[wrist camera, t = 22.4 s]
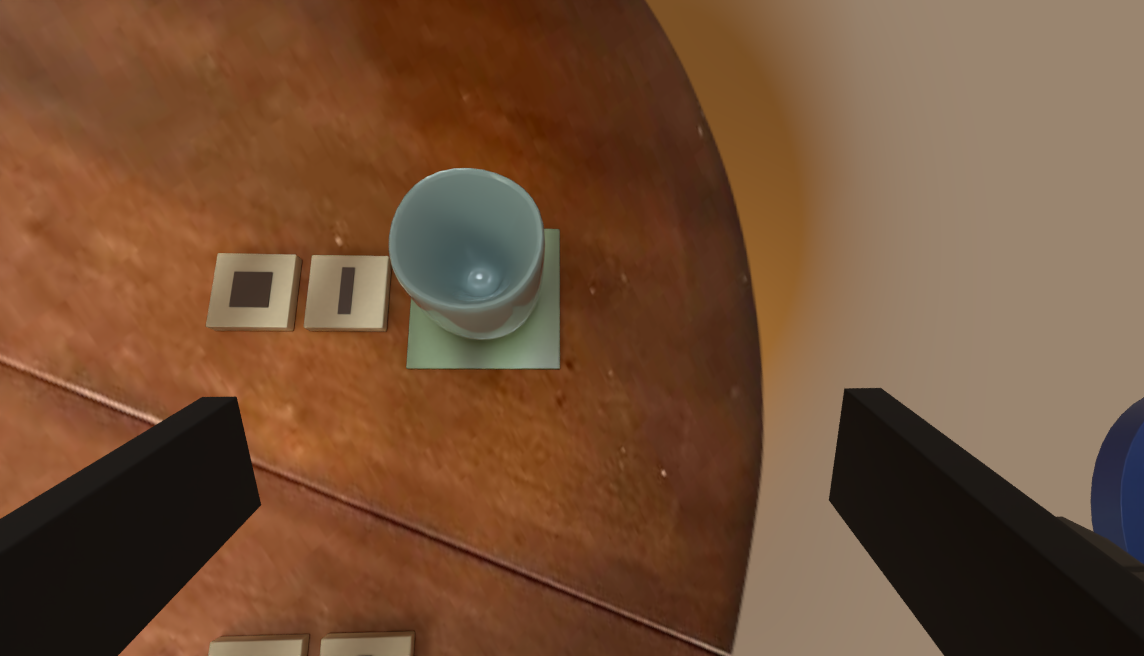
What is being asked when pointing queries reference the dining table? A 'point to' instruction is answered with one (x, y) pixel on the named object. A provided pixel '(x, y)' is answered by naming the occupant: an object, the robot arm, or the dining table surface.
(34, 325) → the dining table surface
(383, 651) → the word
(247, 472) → the robot arm
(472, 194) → the cup
